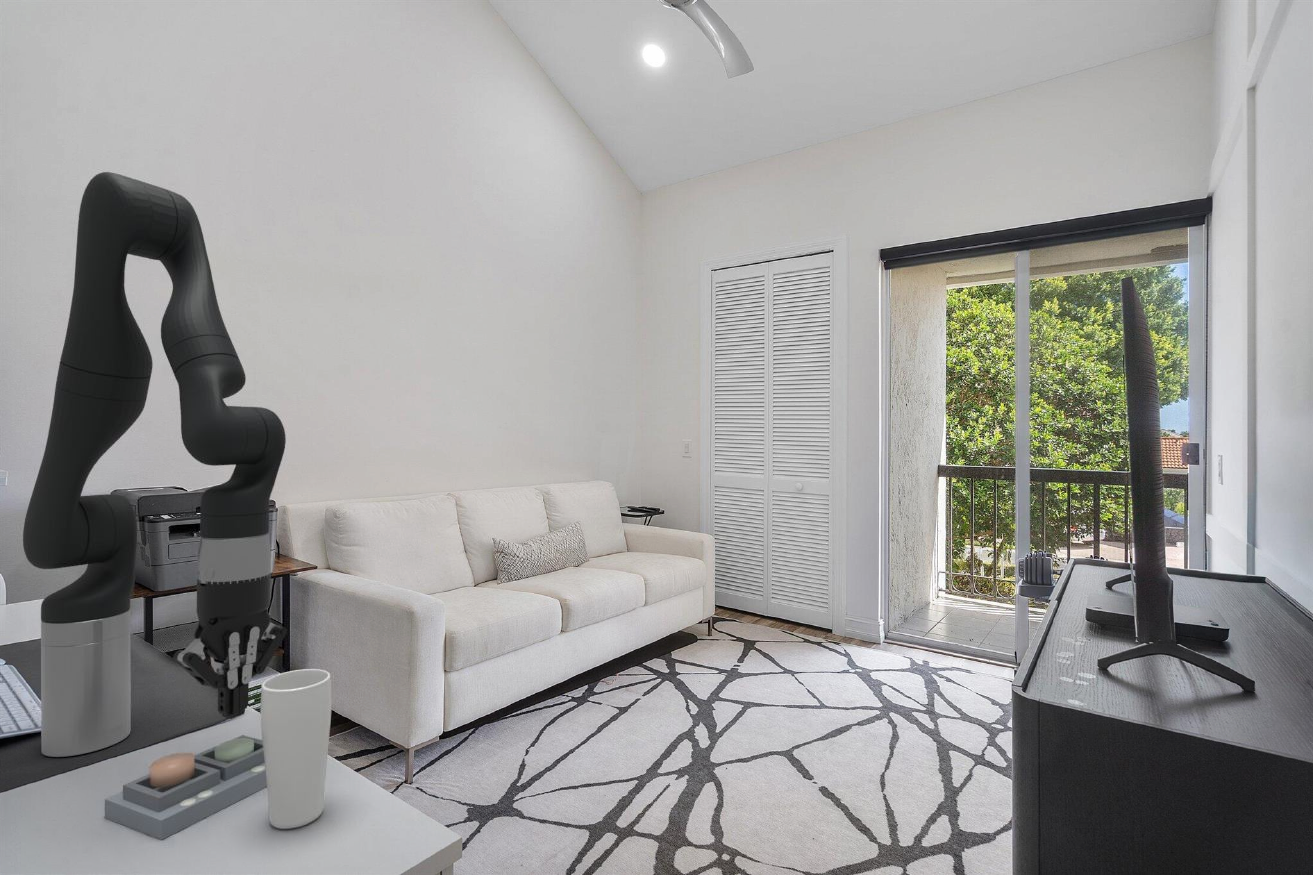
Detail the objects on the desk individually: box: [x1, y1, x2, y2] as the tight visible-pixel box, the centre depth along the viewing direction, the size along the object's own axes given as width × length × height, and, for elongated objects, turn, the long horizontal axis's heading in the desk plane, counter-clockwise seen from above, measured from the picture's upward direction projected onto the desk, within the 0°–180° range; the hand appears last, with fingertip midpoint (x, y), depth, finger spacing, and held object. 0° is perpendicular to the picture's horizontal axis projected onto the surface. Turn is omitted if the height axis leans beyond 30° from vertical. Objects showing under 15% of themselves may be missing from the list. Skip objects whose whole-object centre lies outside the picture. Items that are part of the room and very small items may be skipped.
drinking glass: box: [260, 668, 332, 830], centre depth 73 cm, size 7×7×15 cm
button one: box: [215, 738, 254, 763], centre depth 81 cm, size 4×4×2 cm
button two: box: [149, 752, 194, 787], centre depth 75 cm, size 4×4×2 cm
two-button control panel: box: [104, 735, 267, 841], centre depth 78 cm, size 10×15×4 cm, turn 156°
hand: (232, 715), depth 81 cm, fingers closed
